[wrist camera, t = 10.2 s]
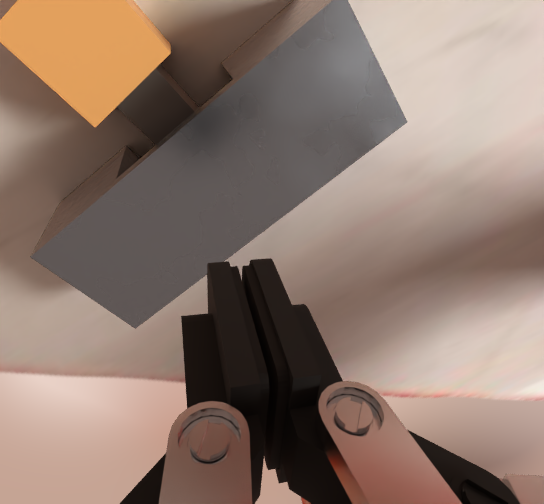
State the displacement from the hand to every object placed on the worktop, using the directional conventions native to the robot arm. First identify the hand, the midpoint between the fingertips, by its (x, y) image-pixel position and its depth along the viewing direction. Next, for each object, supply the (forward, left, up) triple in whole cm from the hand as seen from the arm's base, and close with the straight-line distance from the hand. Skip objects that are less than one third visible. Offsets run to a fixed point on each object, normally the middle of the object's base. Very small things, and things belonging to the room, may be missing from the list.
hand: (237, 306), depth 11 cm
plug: (+2, -2, -14) cm, 14 cm away
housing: (0, 0, -14) cm, 14 cm away
